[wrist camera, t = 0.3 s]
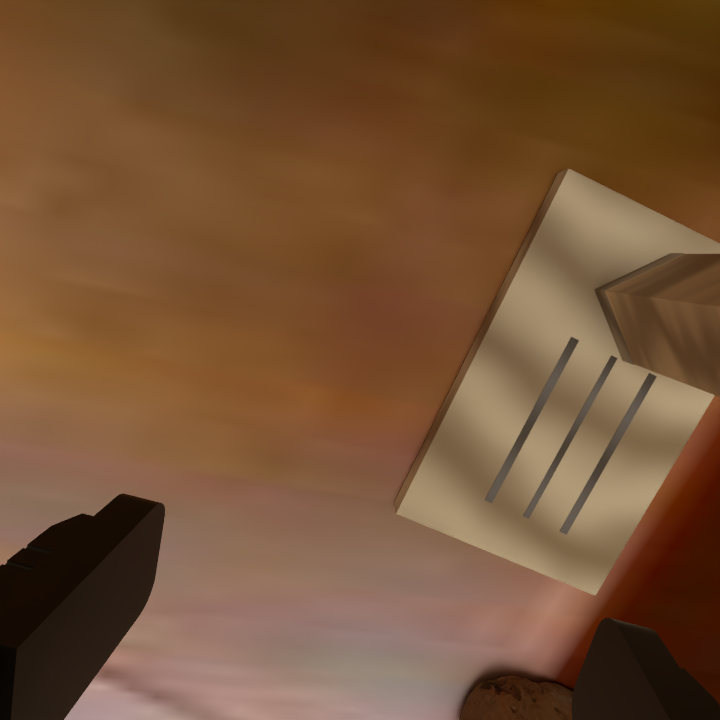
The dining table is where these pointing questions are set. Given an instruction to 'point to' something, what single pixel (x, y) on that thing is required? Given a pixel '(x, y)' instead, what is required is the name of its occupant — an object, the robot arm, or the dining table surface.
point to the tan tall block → (669, 318)
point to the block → (518, 700)
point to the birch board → (558, 400)
